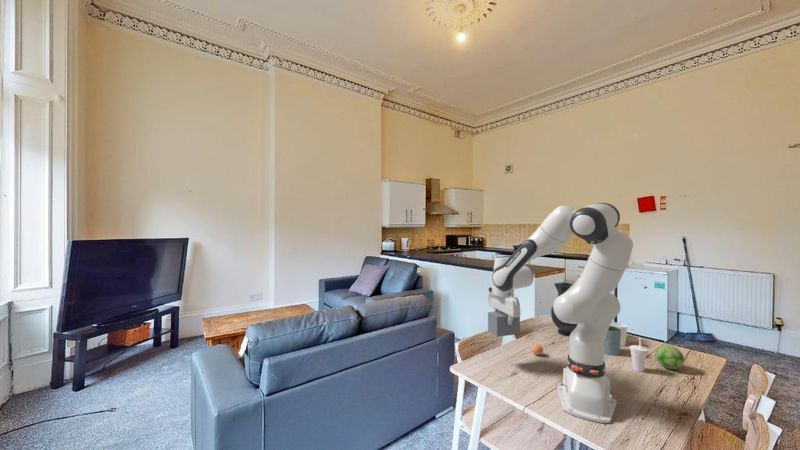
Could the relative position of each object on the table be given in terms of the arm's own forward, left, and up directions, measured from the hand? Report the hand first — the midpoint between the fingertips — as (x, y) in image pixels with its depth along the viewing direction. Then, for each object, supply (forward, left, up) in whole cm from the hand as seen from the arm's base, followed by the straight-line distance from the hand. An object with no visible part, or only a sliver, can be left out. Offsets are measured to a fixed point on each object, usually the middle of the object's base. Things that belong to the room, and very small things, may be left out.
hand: (503, 321), depth 142 cm
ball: (+17, -12, -17) cm, 27 cm away
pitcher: (+56, -25, -19) cm, 65 cm away
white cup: (+54, -47, -19) cm, 75 cm away
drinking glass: (+39, -42, -19) cm, 61 cm away
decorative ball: (+32, -64, -19) cm, 75 cm away
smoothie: (+23, -52, -19) cm, 61 cm away
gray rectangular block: (0, 0, -5) cm, 5 cm away
